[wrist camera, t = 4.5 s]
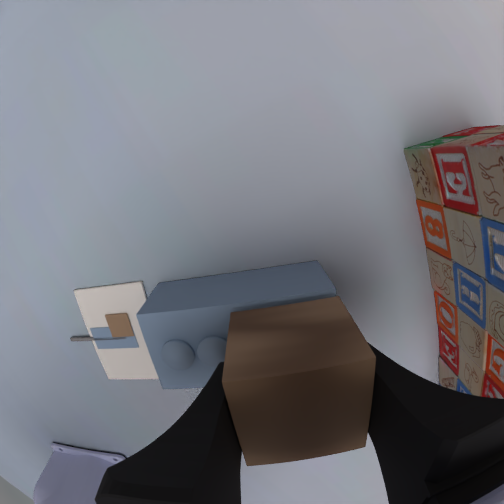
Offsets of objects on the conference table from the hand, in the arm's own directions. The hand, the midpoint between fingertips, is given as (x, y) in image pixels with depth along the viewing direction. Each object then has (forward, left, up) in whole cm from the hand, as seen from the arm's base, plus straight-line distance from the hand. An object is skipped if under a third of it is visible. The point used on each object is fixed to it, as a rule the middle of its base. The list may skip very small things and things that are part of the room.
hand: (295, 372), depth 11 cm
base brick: (-2, 0, -6) cm, 7 cm away
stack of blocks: (+13, -2, -7) cm, 15 cm away
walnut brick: (0, 0, -2) cm, 2 cm away
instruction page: (-10, -1, -6) cm, 12 cm away
